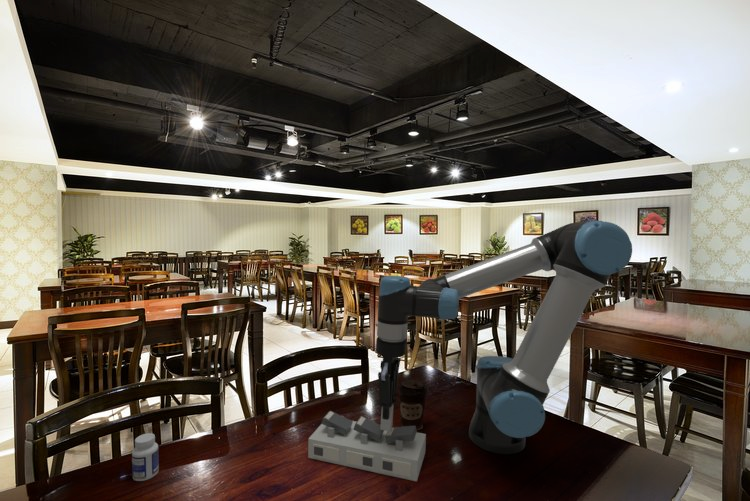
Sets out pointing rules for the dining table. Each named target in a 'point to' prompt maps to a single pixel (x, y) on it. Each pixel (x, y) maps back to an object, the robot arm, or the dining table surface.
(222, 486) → the dining table surface
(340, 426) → the switch
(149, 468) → the pill bottle
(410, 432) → the switch
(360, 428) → the switch
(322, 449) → the console
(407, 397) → the coffee cup
